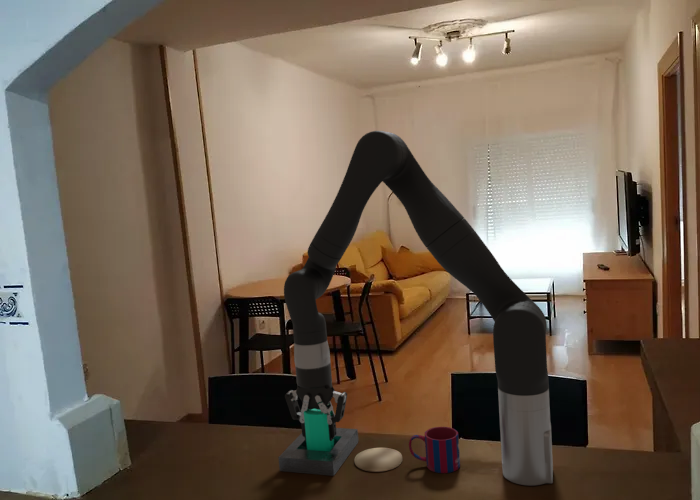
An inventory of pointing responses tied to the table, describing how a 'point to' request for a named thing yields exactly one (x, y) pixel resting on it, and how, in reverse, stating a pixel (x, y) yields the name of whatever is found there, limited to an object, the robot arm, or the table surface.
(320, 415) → the candle
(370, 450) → the cork coaster
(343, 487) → the table surface
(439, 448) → the mug
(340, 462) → the grey rectangular frame
